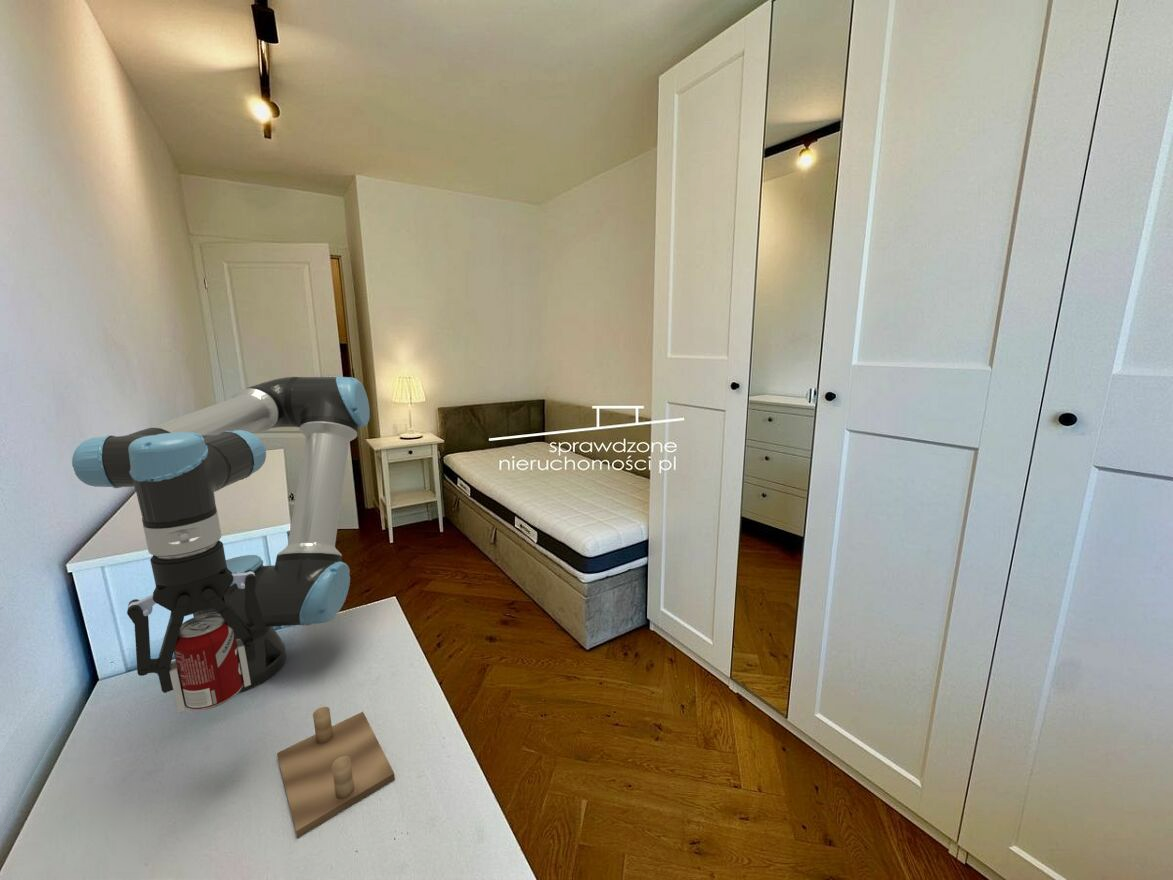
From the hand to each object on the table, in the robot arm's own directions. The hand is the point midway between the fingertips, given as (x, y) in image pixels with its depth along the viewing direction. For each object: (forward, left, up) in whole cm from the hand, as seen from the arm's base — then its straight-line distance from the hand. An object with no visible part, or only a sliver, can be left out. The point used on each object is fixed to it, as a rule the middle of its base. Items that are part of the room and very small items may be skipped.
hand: (215, 692), depth 67 cm
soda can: (0, 0, -1) cm, 1 cm away
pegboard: (+8, +12, -16) cm, 22 cm away
